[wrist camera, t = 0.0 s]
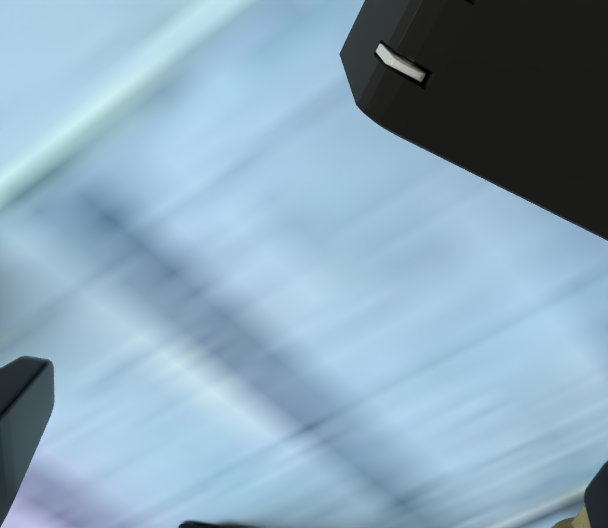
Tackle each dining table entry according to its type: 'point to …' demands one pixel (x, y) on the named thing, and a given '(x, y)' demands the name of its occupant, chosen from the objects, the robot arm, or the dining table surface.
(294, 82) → the dining table surface
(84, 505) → the dining table surface
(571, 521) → the gold bone
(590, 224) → the electronic device
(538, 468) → the dining table surface
